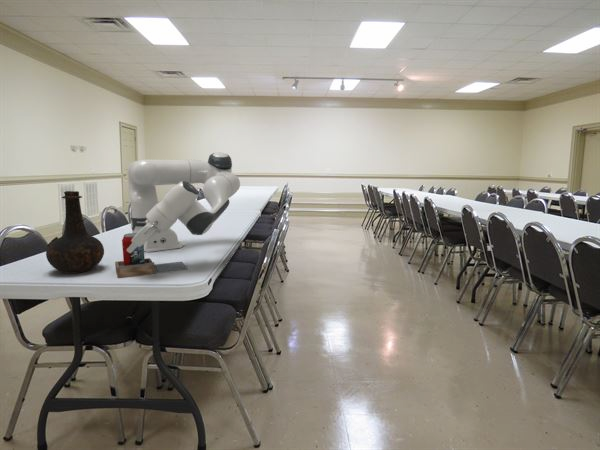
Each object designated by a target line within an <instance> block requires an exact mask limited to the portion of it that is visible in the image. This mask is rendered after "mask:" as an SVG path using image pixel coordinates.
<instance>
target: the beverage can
mask: <svg viewBox="0 0 600 450" xmlns="http://www.w3.org/2000/svg"><path fill="white" fill-rule="evenodd" d="M136 234H137V233H132V232H131V233H126V234H123V237H122V239H121V244H122V245H121V246H122V257H123V259H122V260H123V261H124V266H125V265H134V264H143V263H145V259H146V258H145V251H144V244H143V245H142V246H141V247H137V248H135V249H134V250H133V251H132V252H131V253H129V252H128V251H127V248H128V247H129V246H130V245H131V244H132V241H131V240H132V238H133V237H134V236H135V235H136Z"/></svg>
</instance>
